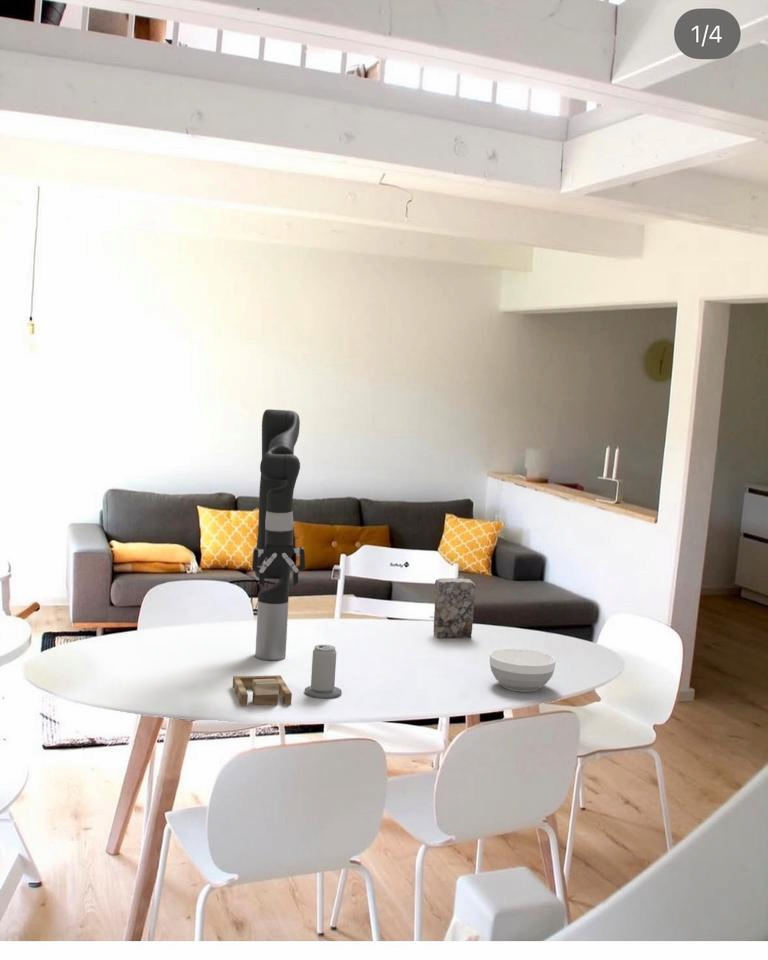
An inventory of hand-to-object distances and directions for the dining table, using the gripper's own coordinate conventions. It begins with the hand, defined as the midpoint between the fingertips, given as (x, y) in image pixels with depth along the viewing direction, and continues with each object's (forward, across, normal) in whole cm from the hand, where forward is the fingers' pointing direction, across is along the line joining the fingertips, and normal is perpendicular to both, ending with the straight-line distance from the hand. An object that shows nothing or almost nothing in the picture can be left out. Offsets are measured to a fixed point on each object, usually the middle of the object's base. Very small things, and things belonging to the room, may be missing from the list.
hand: (278, 585), depth 279 cm
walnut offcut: (+27, +5, +18) cm, 33 cm away
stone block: (+35, -65, -57) cm, 93 cm away
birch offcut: (+24, +4, +18) cm, 30 cm away
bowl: (+31, -70, +3) cm, 77 cm away
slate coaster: (+28, -12, +9) cm, 32 cm away
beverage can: (+27, -12, +9) cm, 31 cm away
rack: (+27, +5, +12) cm, 30 cm away
